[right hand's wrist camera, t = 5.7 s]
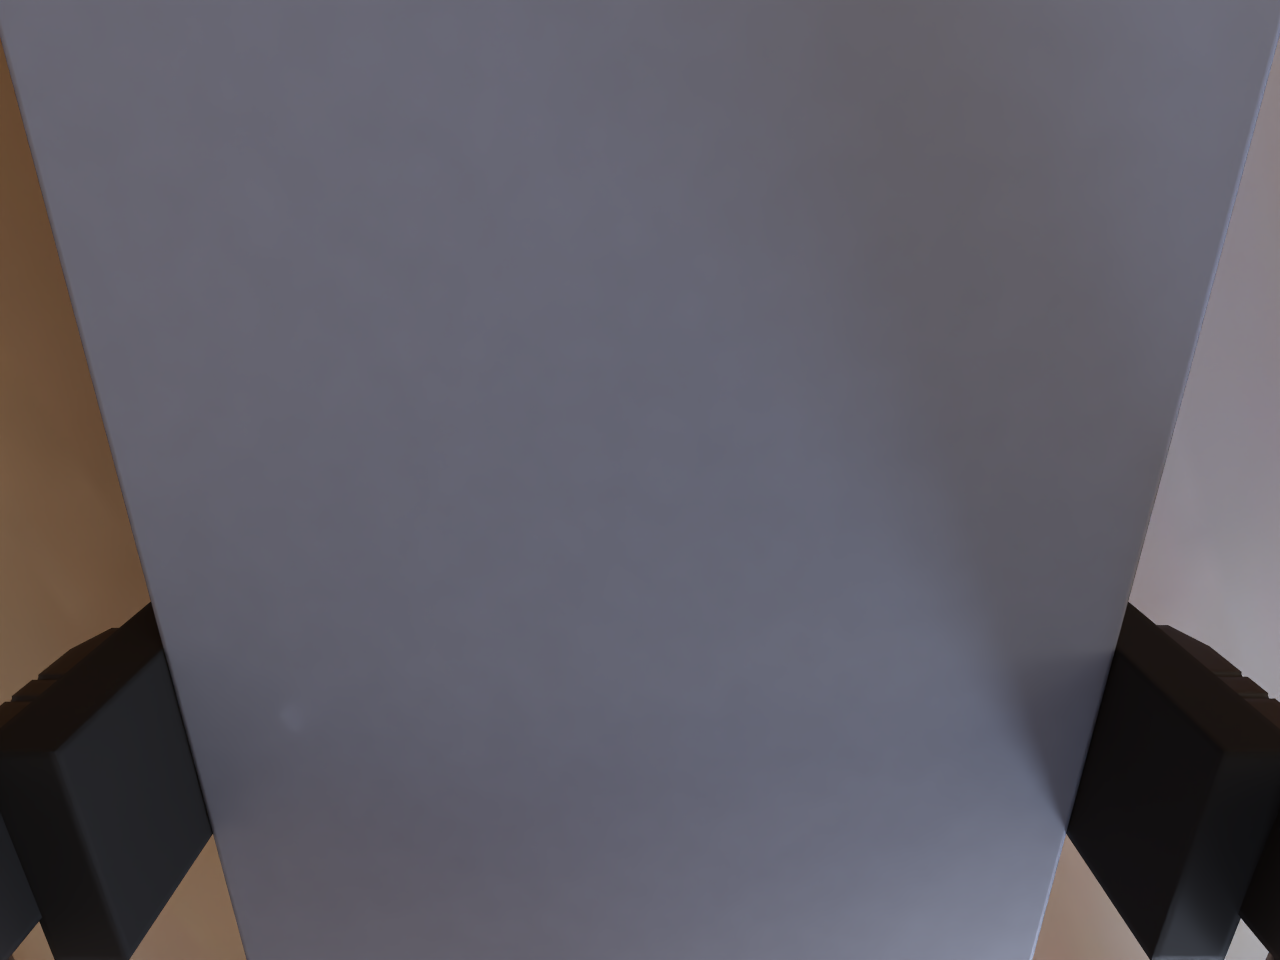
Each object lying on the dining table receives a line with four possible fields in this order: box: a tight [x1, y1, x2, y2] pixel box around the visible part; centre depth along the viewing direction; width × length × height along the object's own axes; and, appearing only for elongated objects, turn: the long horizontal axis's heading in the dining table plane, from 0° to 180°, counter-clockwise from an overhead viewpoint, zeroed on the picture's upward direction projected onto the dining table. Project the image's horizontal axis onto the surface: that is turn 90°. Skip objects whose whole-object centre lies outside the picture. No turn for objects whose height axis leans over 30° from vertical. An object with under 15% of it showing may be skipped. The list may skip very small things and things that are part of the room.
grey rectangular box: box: [0, 0, 1280, 960], centre depth 11 cm, size 20×11×10 cm, turn 0°
